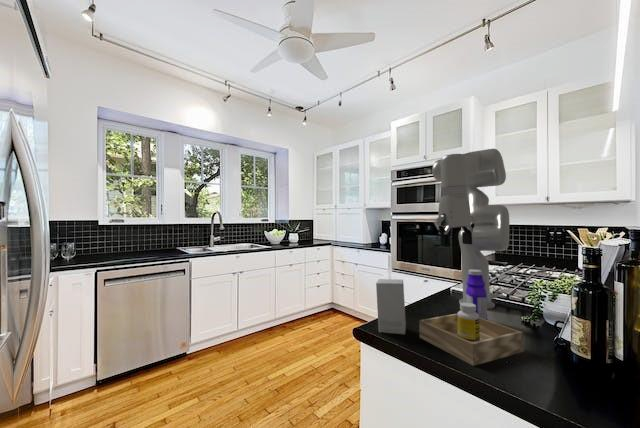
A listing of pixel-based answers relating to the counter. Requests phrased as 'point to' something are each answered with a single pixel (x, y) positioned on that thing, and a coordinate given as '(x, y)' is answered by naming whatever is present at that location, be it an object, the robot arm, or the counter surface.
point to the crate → (490, 347)
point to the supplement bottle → (468, 322)
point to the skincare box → (391, 306)
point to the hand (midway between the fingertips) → (456, 245)
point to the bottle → (477, 292)
